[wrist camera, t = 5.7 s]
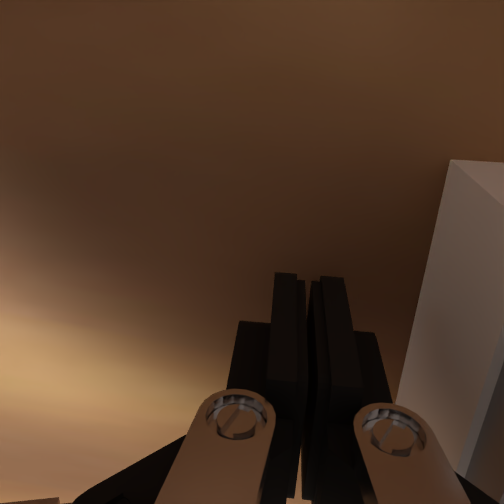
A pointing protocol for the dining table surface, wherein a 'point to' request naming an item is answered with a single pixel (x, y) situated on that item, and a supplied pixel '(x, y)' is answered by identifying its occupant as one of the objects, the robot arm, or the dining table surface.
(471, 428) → the white box with handle
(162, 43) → the dining table surface
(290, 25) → the dining table surface
